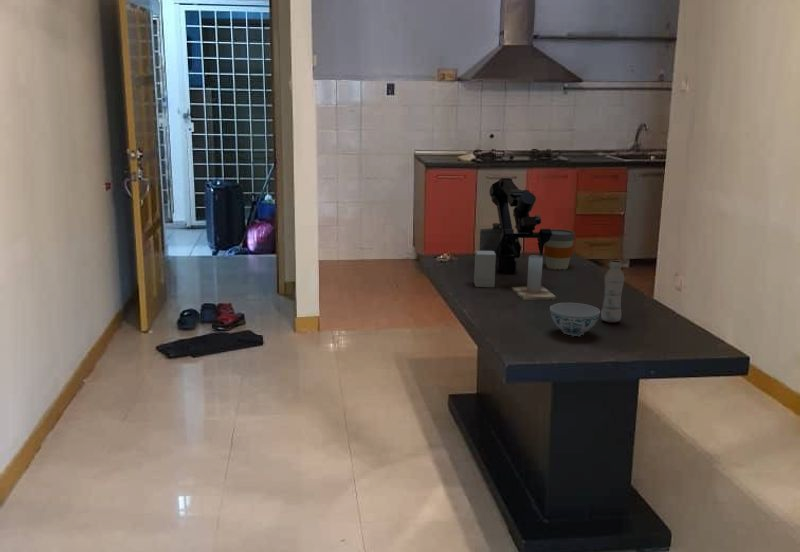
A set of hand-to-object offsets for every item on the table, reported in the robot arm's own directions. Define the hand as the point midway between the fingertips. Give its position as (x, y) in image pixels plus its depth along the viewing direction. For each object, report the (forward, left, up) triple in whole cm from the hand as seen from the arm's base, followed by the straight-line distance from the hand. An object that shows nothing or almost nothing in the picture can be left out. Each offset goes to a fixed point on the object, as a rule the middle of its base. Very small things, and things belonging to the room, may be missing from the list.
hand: (529, 254), depth 289 cm
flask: (-20, +34, -13) cm, 41 cm away
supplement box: (-17, +1, -13) cm, 22 cm away
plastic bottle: (+32, -30, -13) cm, 46 cm away
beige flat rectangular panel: (+3, -6, -13) cm, 15 cm away
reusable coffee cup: (+5, +42, -13) cm, 44 cm away
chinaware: (+22, -47, -13) cm, 54 cm away
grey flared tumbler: (+3, -6, -12) cm, 14 cm away
